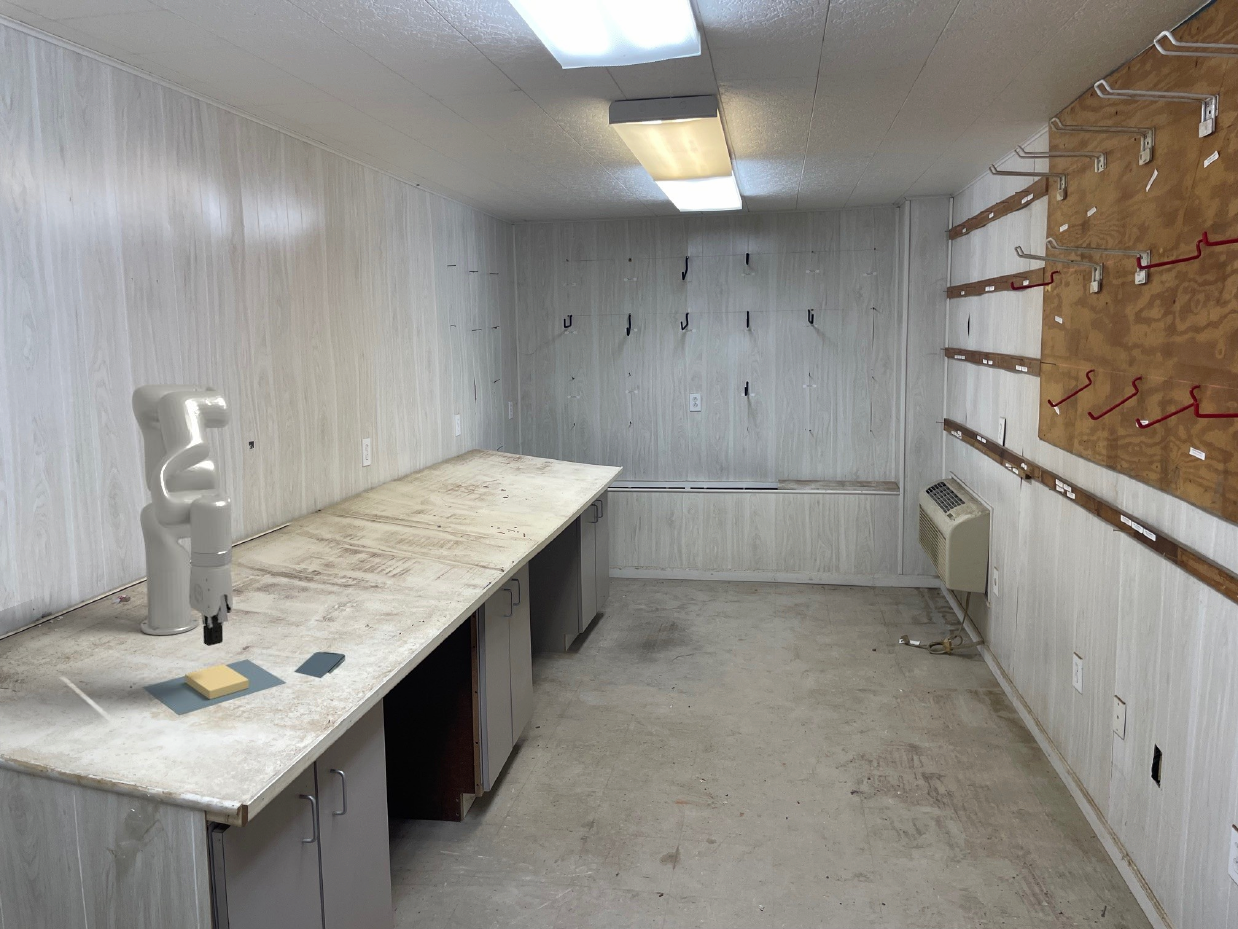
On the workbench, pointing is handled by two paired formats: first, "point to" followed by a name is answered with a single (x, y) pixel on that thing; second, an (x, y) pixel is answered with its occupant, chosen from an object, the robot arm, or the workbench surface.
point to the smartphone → (321, 664)
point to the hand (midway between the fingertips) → (213, 643)
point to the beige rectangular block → (216, 681)
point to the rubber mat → (189, 699)
